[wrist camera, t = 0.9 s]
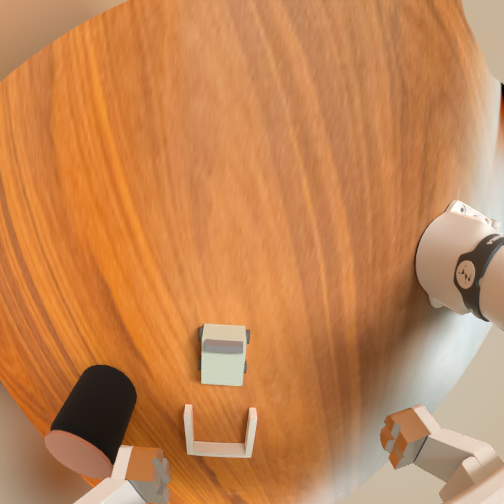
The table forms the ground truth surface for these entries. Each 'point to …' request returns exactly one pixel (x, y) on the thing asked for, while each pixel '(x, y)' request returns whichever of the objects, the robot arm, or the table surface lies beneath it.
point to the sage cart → (223, 354)
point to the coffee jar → (93, 422)
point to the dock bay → (214, 447)
